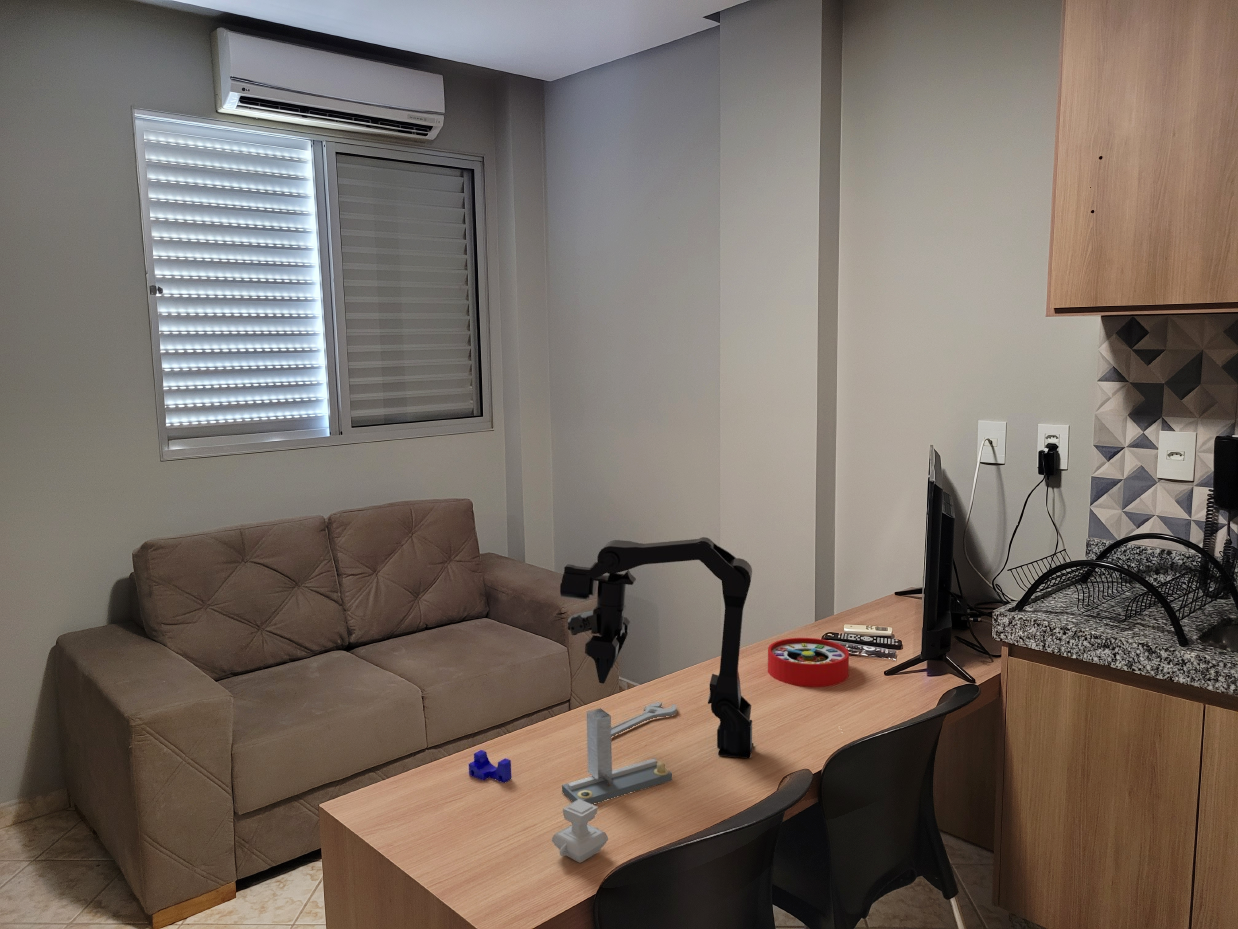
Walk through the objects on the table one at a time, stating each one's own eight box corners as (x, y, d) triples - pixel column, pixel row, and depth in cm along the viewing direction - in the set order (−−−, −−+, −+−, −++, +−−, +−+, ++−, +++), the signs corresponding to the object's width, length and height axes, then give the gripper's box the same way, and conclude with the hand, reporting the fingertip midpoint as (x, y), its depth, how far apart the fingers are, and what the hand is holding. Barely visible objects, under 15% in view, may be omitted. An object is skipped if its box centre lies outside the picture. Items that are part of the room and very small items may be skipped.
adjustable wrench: (595, 749, 186) (595, 740, 186) (576, 739, 191) (576, 731, 191) (681, 714, 202) (681, 706, 202) (661, 706, 207) (661, 698, 207)
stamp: (585, 836, 152) (584, 789, 151) (613, 850, 148) (612, 802, 147) (546, 858, 146) (544, 810, 145) (574, 874, 141) (573, 824, 140)
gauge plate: (652, 766, 177) (652, 751, 177) (672, 780, 171) (672, 765, 171) (562, 792, 167) (561, 777, 167) (579, 809, 161) (579, 792, 161)
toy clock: (829, 670, 211) (753, 654, 223) (829, 694, 212) (753, 677, 224) (861, 646, 227) (788, 632, 239) (860, 668, 228) (788, 654, 240)
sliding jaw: (601, 771, 171) (600, 708, 169) (618, 785, 166) (617, 720, 164) (587, 775, 170) (586, 711, 168) (604, 789, 164) (603, 723, 162)
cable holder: (469, 776, 175) (468, 756, 174) (481, 768, 177) (481, 749, 177) (498, 787, 170) (498, 767, 169) (511, 779, 173) (510, 760, 172)
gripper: (581, 586, 194) (577, 655, 196) (562, 610, 176) (557, 686, 178) (632, 592, 192) (627, 661, 194) (617, 617, 174) (612, 693, 176)
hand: (605, 675), depth 186 cm, fingers open, 9 cm apart
